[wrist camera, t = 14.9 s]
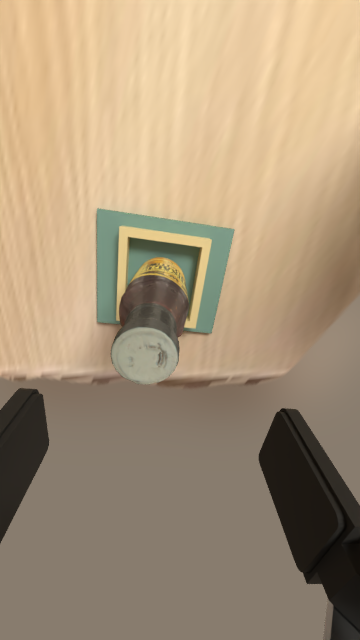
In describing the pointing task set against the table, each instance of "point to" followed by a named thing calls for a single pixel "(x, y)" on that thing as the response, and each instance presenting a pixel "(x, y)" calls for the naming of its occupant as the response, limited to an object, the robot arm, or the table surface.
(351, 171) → the table surface
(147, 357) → the sauce bottle
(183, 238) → the teal board with frame
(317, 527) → the robot arm
